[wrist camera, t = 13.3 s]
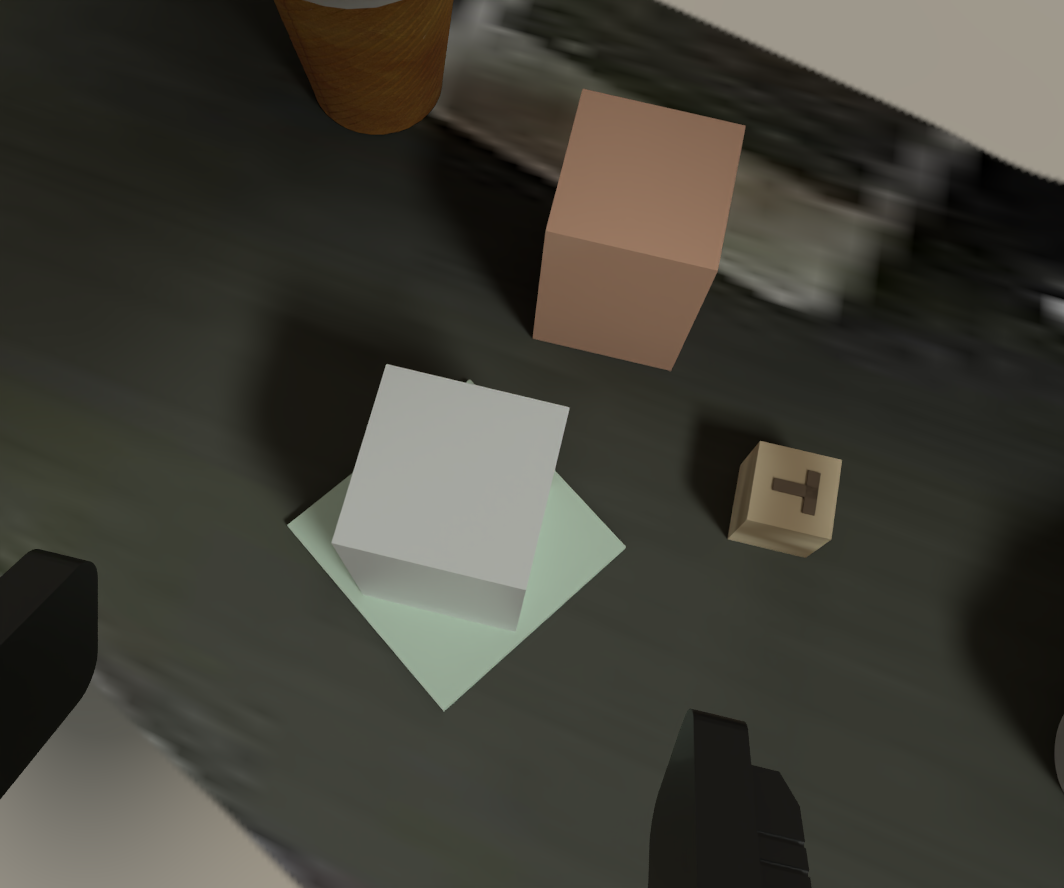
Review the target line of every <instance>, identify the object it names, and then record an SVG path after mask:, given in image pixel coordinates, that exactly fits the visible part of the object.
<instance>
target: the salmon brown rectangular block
mask: <svg viewBox="0 0 1064 888" xmlns="http://www.w3.org/2000/svg"><path fill="white" fill-rule="evenodd" d="M745 127H746V126H745V125H740V124H736V123H731V122H727V121H723V120H718V119H714V118H709V117H705V116H701V115H696V114H692V113H687V112H683V111H679V110H674V109H670V108H665V107H661V106H657V105H652V104H648V103H643V102H639V101H634V100H630V99H626V98H621V97H617V96H612V95H608V94H604V93H599V92H595V91H590V90H586V89H582V93H581V97H580V101H579V105H578V108H577V112H576V116H575V120H574V124H573V128H572V131H571V135H570V139H569V143H568V147H567V151H566V155H565V158H564V162H563V166H562V170H561V174H560V178H559V181H558V185H557V189H556V193H555V197H554V201H553V205H552V208H551V212H550V216H549V220H548V224H547V228H546V232H545V240H544V248H543V257H542V265H541V273H540V281H539V289H538V298H537V306H536V314H535V322H534V330H533V339H537V340H541V341H545V342H550V343H554V344H558V345H563V346H567V347H571V348H575V349H580V350H584V351H588V352H592V353H597V354H601V355H605V356H610V357H614V358H618V359H622V360H627V361H631V362H635V363H639V364H644V365H648V366H652V367H657V368H661V369H665V370H669V371H671V370H672V368H673V365H674V363H675V361H676V359H677V357H678V355H679V353H680V350H681V348H682V346H683V344H684V342H685V340H686V338H687V335H688V333H689V331H690V329H691V327H692V325H693V323H694V320H695V318H696V316H697V314H698V312H699V310H700V308H701V305H702V303H703V301H704V299H705V297H706V295H707V293H708V290H709V288H710V286H711V284H712V282H713V280H714V278H715V275H716V273H717V271H718V267H719V261H720V256H721V251H722V246H723V241H724V236H725V230H726V225H727V220H728V215H729V210H730V205H731V199H732V194H733V189H734V184H735V179H736V174H737V168H738V163H739V158H740V153H741V148H742V142H743V137H744V132H745Z"/></svg>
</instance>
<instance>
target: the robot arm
mask: <svg viewBox="0 0 1064 888" xmlns="http://www.w3.org/2000/svg"><path fill="white" fill-rule="evenodd" d="M97 653H98V575H97V569H96V567H95V565H94V564H93V563H92V562H90V561H86V560H82V559H77V558H73V557H69V556H65V555H61V554H57V553H53V552H48V551H44V550H40V549H34V550H32V551H30V552H28V553H27V554H26V555H24V556H23V557H22V558H21V559H20V560H19V561H18V562H17V563H16V564H15V565H13V566H12V567H11V568H10V569H9V570H8V571H7V572H6V573H5V574H4V575H2V576H1V577H0V799H1V798H2V796H3V795H4V794H5V793H6V792H7V790H8V789H9V788H10V786H11V785H12V784H13V783H14V782H15V780H16V779H17V778H18V777H19V775H20V774H21V773H22V772H23V770H24V769H25V768H26V767H27V765H28V764H29V763H30V761H32V759H33V758H34V757H35V756H36V754H37V753H38V752H39V750H40V749H41V748H42V747H43V746H44V744H45V743H46V742H47V741H48V739H49V738H50V737H51V736H52V734H53V733H54V732H55V731H56V729H57V728H58V727H59V726H60V725H61V723H62V722H63V721H64V720H65V718H66V717H67V716H68V714H69V713H70V712H71V711H72V710H73V708H74V707H75V706H76V705H77V703H78V702H79V701H80V699H81V698H82V697H83V695H84V693H85V692H86V690H87V688H88V686H89V683H90V681H91V679H92V676H93V673H94V670H95V666H96V661H97ZM804 842H805V839H804V832H803V825H802V819H801V812H800V806H799V804H798V802H797V801H796V799H795V797H794V796H793V794H792V792H791V791H790V789H789V787H788V786H787V784H786V782H785V781H784V779H783V777H782V776H781V774H780V772H778V771H774V770H770V769H766V768H762V767H758V766H753V765H751V758H750V747H749V736H748V728H747V724H746V723H745V722H744V721H740V720H735V719H731V718H727V717H723V716H719V715H715V714H711V713H706V712H702V711H698V710H694V709H689V710H688V711H687V713H686V715H685V717H684V720H683V723H682V726H681V729H680V731H679V734H678V737H677V740H676V743H675V746H674V749H673V752H672V755H671V758H670V761H669V764H668V766H667V769H666V772H665V775H664V778H663V781H662V784H661V787H660V790H659V793H658V796H657V800H656V804H655V808H654V813H653V819H652V825H651V833H650V847H649V879H648V888H811V881H810V877H808V872H809V867H808V860H807V853H806V848H804Z"/></svg>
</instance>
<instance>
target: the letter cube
mask: <svg viewBox="0 0 1064 888" xmlns="http://www.w3.org/2000/svg"><path fill="white" fill-rule="evenodd" d="M841 464H842V460H840V459H835V458H831V457H827V456H823V455H818V454H814V453H810V452H806V451H801V450H797V449H793V448H789V447H784V446H780V445H776V444H771V443H767V442H763V441H760V442H759V443H758V444H757V445H756V446H755V448H754V449H753V450H752V451H751V453H750V454H749V455H748V456H747V458H746V459H745V460H744V461H743V462H742V464H741V465H740V469H739V475H738V481H737V487H736V492H735V498H734V504H733V510H732V516H731V521H730V527H729V533H728V539H729V540H733V541H737V542H742V543H746V544H750V545H754V546H758V547H763V548H767V549H771V550H775V551H779V552H784V553H788V554H792V555H796V556H800V557H805V558H806V557H807V556H809V555H810V554H811V553H813V552H814V551H816V550H817V549H818V548H820V547H821V546H823V545H824V544H826V543H827V542H828V541H830V540H831V537H832V530H833V522H834V515H835V508H836V501H837V493H838V486H839V479H840V471H841Z"/></svg>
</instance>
